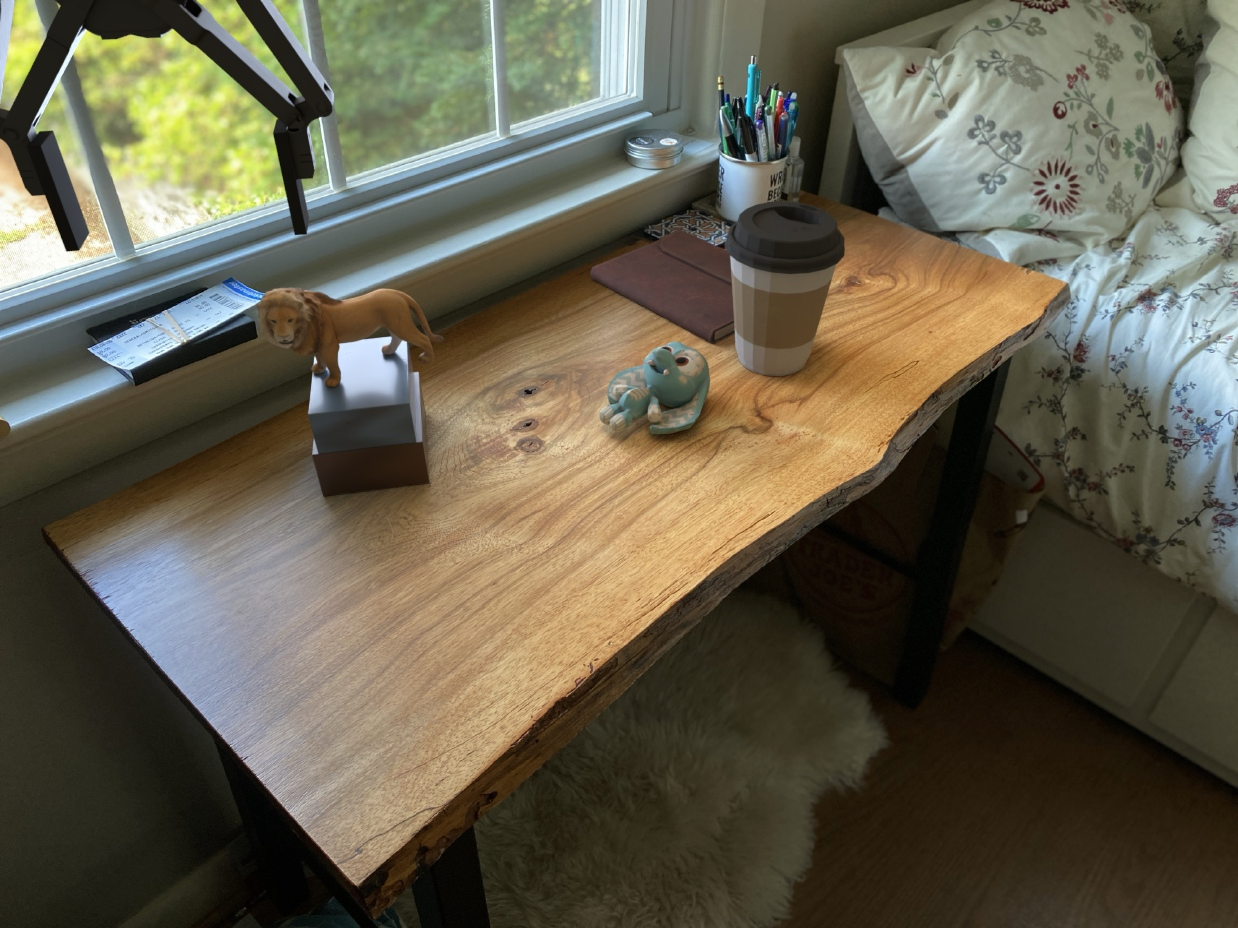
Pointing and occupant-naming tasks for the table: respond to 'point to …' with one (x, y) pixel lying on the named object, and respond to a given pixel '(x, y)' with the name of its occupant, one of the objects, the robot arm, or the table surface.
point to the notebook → (677, 282)
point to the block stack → (369, 421)
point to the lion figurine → (340, 324)
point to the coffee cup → (780, 282)
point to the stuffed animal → (660, 390)
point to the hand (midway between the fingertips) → (192, 235)
